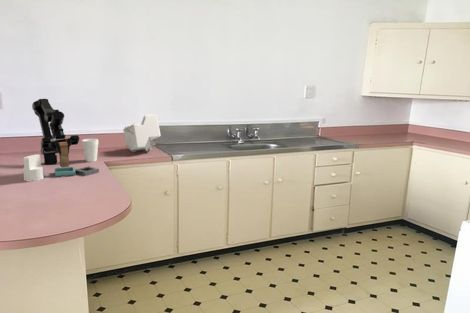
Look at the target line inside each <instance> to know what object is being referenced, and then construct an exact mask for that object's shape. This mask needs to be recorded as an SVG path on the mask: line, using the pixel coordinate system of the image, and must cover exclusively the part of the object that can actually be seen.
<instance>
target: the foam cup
mask: <svg viewBox="0 0 470 313" xmlns="http://www.w3.org/2000/svg"><path fill="white" fill-rule="evenodd" d="M81 145H82V148H83V154H84V158H85V162H88V163H92V162H96V161H97V160H98V148H99V139H98V138H84V139H82V140H81Z"/></svg>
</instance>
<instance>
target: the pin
mask: <svg viewBox="0 0 470 313" xmlns="http://www.w3.org/2000/svg"><path fill="white" fill-rule="evenodd" d="M59 148H60V151H61V155H60V154H59V153H58V156H59V166H60V168H64V167H70V161H69V160H70V158H69V154H68V143H67V142H59Z"/></svg>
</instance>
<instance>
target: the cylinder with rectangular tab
mask: <svg viewBox="0 0 470 313" xmlns="http://www.w3.org/2000/svg"><path fill="white" fill-rule="evenodd" d="M41 161H42V160H41V153H40V154H37V153H34V154H32V155H28V156H24V157H23V167H22V173H23V180H24V179H25V180H38V181H41V180H40V179H42V180H43V179H44V168H43V166H42V163H41ZM25 180H24V181H25Z"/></svg>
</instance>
